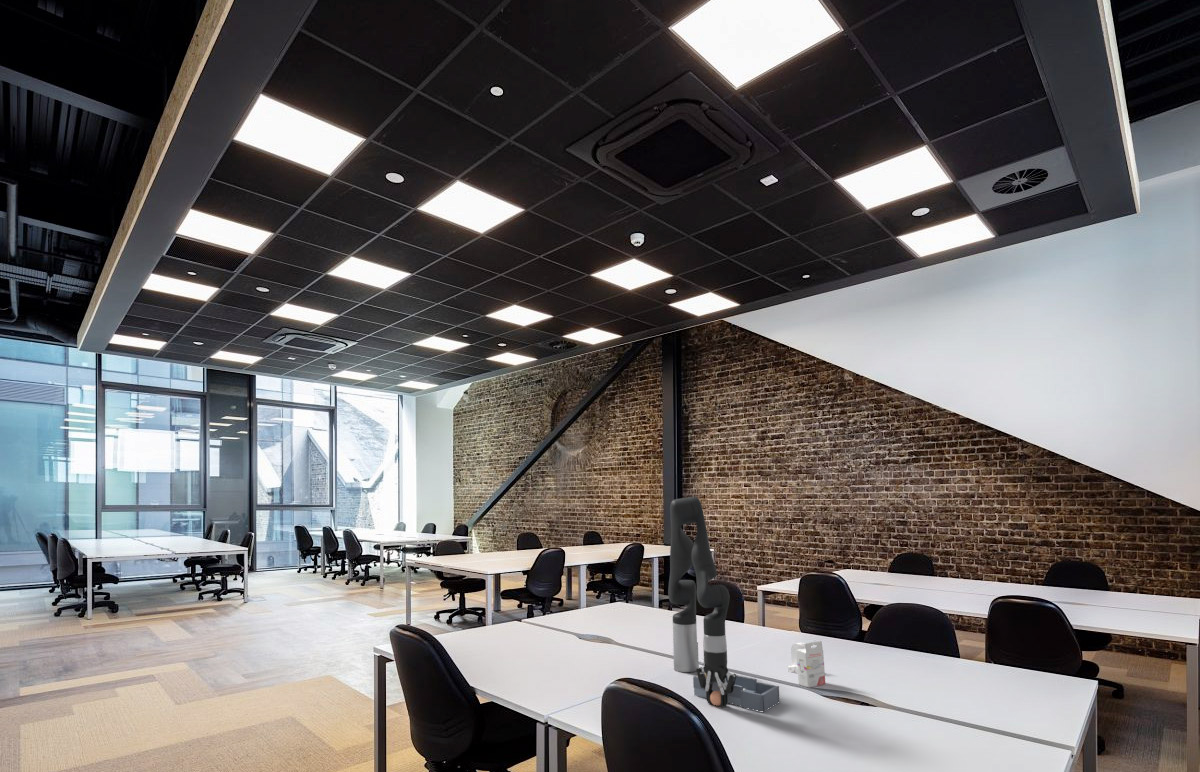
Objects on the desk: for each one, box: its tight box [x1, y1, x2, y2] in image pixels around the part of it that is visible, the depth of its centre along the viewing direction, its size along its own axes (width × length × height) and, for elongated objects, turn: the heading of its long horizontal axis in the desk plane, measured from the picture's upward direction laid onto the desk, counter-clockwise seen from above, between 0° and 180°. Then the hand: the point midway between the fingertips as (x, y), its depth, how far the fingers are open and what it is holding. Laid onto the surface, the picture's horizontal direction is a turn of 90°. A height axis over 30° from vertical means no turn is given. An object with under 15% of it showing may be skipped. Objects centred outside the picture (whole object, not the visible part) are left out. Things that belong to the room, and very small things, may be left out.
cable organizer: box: [787, 642, 806, 675], centre depth 241 cm, size 5×10×10 cm, turn 132°
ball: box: [710, 691, 721, 707], centre depth 203 cm, size 4×4×4 cm
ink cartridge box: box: [796, 640, 826, 689], centre depth 225 cm, size 9×5×15 cm, turn 118°
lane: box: [692, 674, 781, 712], centre depth 209 cm, size 12×26×6 cm, turn 50°
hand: (717, 704), depth 203 cm, fingers closed on ball, 4 cm apart
